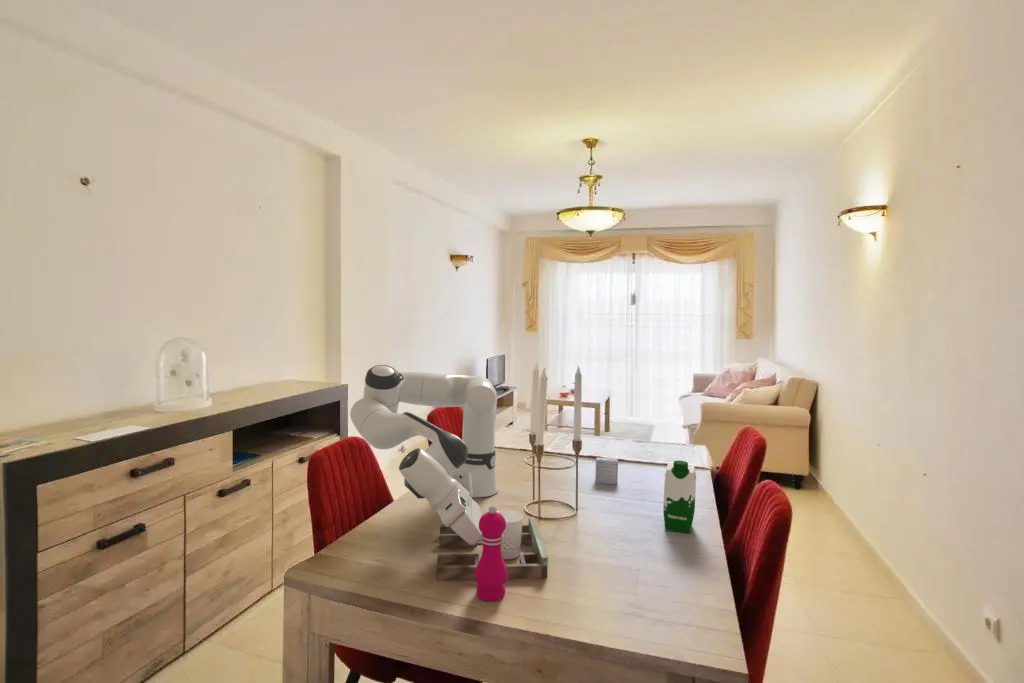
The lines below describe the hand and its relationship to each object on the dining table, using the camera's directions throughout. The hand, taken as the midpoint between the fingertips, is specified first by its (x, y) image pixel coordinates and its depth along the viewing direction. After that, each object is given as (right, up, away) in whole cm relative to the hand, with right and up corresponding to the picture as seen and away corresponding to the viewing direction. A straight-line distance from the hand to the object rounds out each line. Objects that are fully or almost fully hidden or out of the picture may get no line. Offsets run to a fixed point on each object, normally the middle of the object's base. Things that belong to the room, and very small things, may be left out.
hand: (490, 538), depth 142 cm
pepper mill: (+1, -6, -19) cm, 20 cm away
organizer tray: (0, -4, 0) cm, 4 cm away
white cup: (+4, -5, +1) cm, 6 cm away
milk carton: (+54, -5, +22) cm, 59 cm away
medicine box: (+40, -2, +62) cm, 74 cm away
